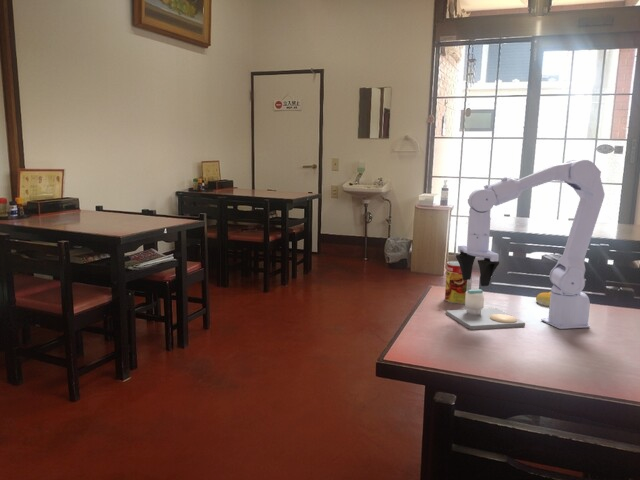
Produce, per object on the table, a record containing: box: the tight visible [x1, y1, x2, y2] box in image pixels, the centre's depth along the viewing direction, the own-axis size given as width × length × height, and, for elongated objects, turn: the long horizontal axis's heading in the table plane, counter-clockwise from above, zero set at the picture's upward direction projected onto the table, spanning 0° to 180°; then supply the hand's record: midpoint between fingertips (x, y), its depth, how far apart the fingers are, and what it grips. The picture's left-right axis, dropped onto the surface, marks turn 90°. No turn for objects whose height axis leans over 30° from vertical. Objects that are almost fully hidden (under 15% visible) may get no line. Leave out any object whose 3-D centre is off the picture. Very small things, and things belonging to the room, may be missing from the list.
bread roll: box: [535, 291, 551, 307], centre depth 155 cm, size 8×9×4 cm
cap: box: [464, 289, 485, 309], centre depth 139 cm, size 5×5×5 cm
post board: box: [445, 307, 526, 330], centre depth 137 cm, size 16×14×3 cm
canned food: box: [444, 260, 474, 305], centre depth 156 cm, size 8×8×12 cm
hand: (475, 282), depth 137 cm, fingers open, 7 cm apart
